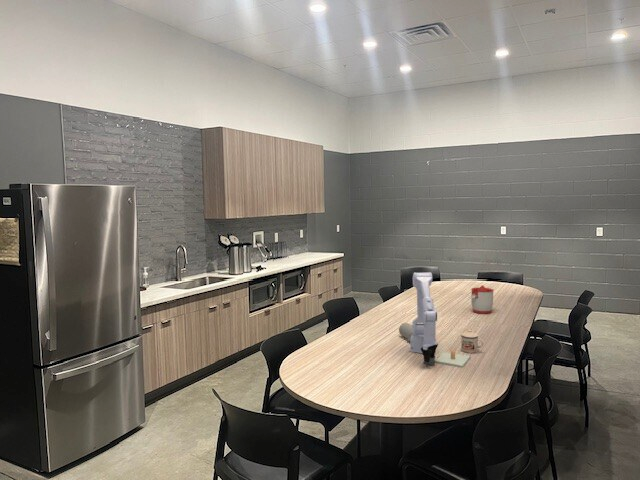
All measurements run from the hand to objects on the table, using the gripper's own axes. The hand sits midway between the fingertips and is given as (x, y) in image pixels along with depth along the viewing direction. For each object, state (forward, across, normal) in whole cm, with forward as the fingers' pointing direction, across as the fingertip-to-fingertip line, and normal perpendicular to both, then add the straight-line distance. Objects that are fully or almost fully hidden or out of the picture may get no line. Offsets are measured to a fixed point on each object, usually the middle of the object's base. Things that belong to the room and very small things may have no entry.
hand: (429, 359), depth 242 cm
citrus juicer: (+2, +122, +1) cm, 122 cm away
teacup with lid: (+2, +31, -14) cm, 34 cm away
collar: (+2, 0, 0) cm, 2 cm away
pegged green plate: (+2, +11, -9) cm, 14 cm away
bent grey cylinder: (+2, +36, +20) cm, 41 cm away
